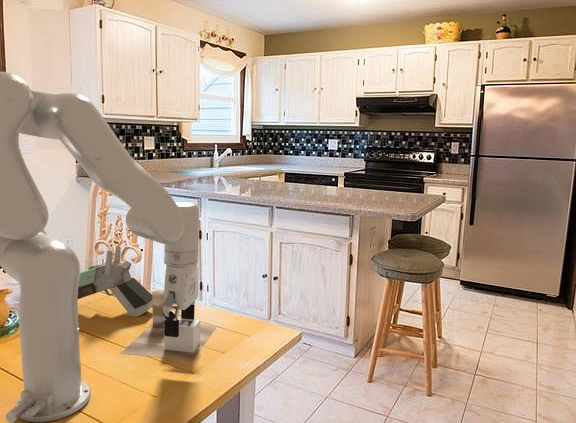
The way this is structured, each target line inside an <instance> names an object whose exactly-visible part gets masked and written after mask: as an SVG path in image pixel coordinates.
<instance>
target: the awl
mask: <svg viewBox="0 0 576 423" xmlns="http://www.w3.org/2000/svg"><path fill="white" fill-rule="evenodd" d="M151 294H152V308H151V309H152V324H153V327H154V328H164V322H165V320H164V316H163V308H162V307H163V304H164V289H157V290H153V291H152V293H151Z"/></svg>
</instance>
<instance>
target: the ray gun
mask: <svg viewBox="0 0 576 423" xmlns="http://www.w3.org/2000/svg"><path fill="white" fill-rule="evenodd" d="M121 250H122V248H121V246H118V245H117V246H115V251H114V259H113V250H109V249H107V252H106V259H105V262H104V263H102V264H97V265H92V266H90V267H88V268H87V269H84V270H80V280H79V287H78V300H80V299H83V298H86V297H89V296H92V295H95V294H97V293H101V292H103V291H104V292H105V294H106V295H107V296H113V295H114V297H115V299H117V301H118V302H119V303H120V304H121V306H122V307H123V309H124V310H125V311H126V314H125V316H132V317H139V316H141V315H143V314H145V313H147V311H150V309H153V308H152V293H151V292H150V291H148V290H147V289H146V287H145V286H143V285H142V284H141V283H140V282H139V281H138V280H136V279H135V277H132V276H131V273H130V268H131V266H132V263H131V262H130V261H128V260H127V261H125V262H121V255H122V254H121V252H122V251H121ZM109 291H110V292H111V293H110V292H109Z"/></svg>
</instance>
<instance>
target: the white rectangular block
mask: <svg viewBox="0 0 576 423" xmlns="http://www.w3.org/2000/svg"><path fill="white" fill-rule="evenodd" d="M178 320H179V336H178V337H168V336H165V335H164V348H165V350H174V351H183V352H194V351H195V350H196V348H197V347H198V346H199V344H200V324H201V320H200V319H194V320H192V319H182V318H181V317H178Z"/></svg>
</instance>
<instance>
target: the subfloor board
mask: <svg viewBox="0 0 576 423" xmlns="http://www.w3.org/2000/svg"><path fill="white" fill-rule="evenodd" d="M217 327H218V325H215V324H203V323H200V344H199V346H198V347H197V348H196V350H195V351H194V352H183V351H174V350H165V348H164V328H154V327H153V323H151V324H150V325H149V326H148V327H147V328H146V329H145V330H143V332H142V333H141V334H140V335H139V336H137V337H136V338H135V339H134V340H133V341H132V342H131V343H129V345H127V346H126V347H125V349H123V350H122V351H121V353H120V354H123V355H133V356H141V357H151V358H152V357H153V358H161V359H169V360H179V361H188V362H193V360H194V359H195V358H196V356H197V355H198V354H199V352H200V351H201V349H202V348H203V347H204V346H205V344H206V342H207V341H208V340H209V339H210V337H211V336H212V334H213V333H214V331H215V330H216V329H217Z"/></svg>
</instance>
